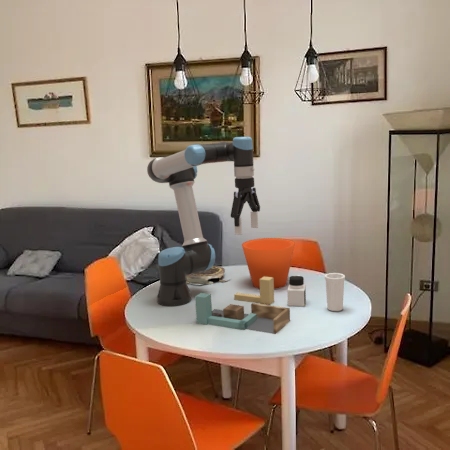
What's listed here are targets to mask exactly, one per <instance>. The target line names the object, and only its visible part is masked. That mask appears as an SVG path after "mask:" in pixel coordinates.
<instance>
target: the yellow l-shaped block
mask: <svg viewBox="0 0 450 450" xmlns="http://www.w3.org/2000/svg"><path fill="white" fill-rule="evenodd" d="M259 280H260V288H259V295H258V294H250V293H242V292H236V293H234V295H233V296H234V297H233V298H234V300H235V301H241V302H247V303H248V302H249V303H255V304H262V305H270V306H272V305H273V304H274V302H275V289H274V279H273V277H262V278H261V279H259Z"/></svg>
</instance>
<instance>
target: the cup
mask: <svg viewBox="0 0 450 450" xmlns="http://www.w3.org/2000/svg"><path fill="white" fill-rule="evenodd" d="M324 279H325V290H326V291H325V292H326V304H327V308H326V309H327V310H328V311H332V312H340V311H342V310H343V308H344V294H345V293H344V290H345V280H346V275H345V274H343V273H340V272H330V273H326V274H324Z"/></svg>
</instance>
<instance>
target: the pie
mask: <svg viewBox="0 0 450 450" xmlns="http://www.w3.org/2000/svg"><path fill="white" fill-rule="evenodd" d="M225 272H226V269H225V268H224V267H223V266H216V265H215V266H214V265H213V267H212V268H210V269H208V270H205V271H203V272H197V273H193V274H189V275H186V283H187V284H190V285H191V284H192V285H195V284H197V286H204V285H213V284H214V282H213V281H210V280H211V279H218V283H226V282H229V279H227V280H226V279H225V280H224V279H223V280H222V279H221V278H222V277H223V276H224V275H225ZM199 284H200V285H199Z"/></svg>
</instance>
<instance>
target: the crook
mask: <svg viewBox="0 0 450 450" xmlns="http://www.w3.org/2000/svg"><path fill="white" fill-rule="evenodd" d="M194 299H195V300H194V301H195V316H196V324H201V325H212V326H217V327H225V328H232V329H237V330H243V331H244V330H247V329H246V328H247V327H249V326H250V325H251V324H252V323H254V322H255V321H256V320H257V314H253V313H251V312H250V313H248V314H249V315H248V316H247V317H245V318H244V319H243V320H236V319H230V318H223V317H217V316H212V311H213V307H212V294H210V293H204V292H200V293H198V294H197V295H195V296H194Z"/></svg>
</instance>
